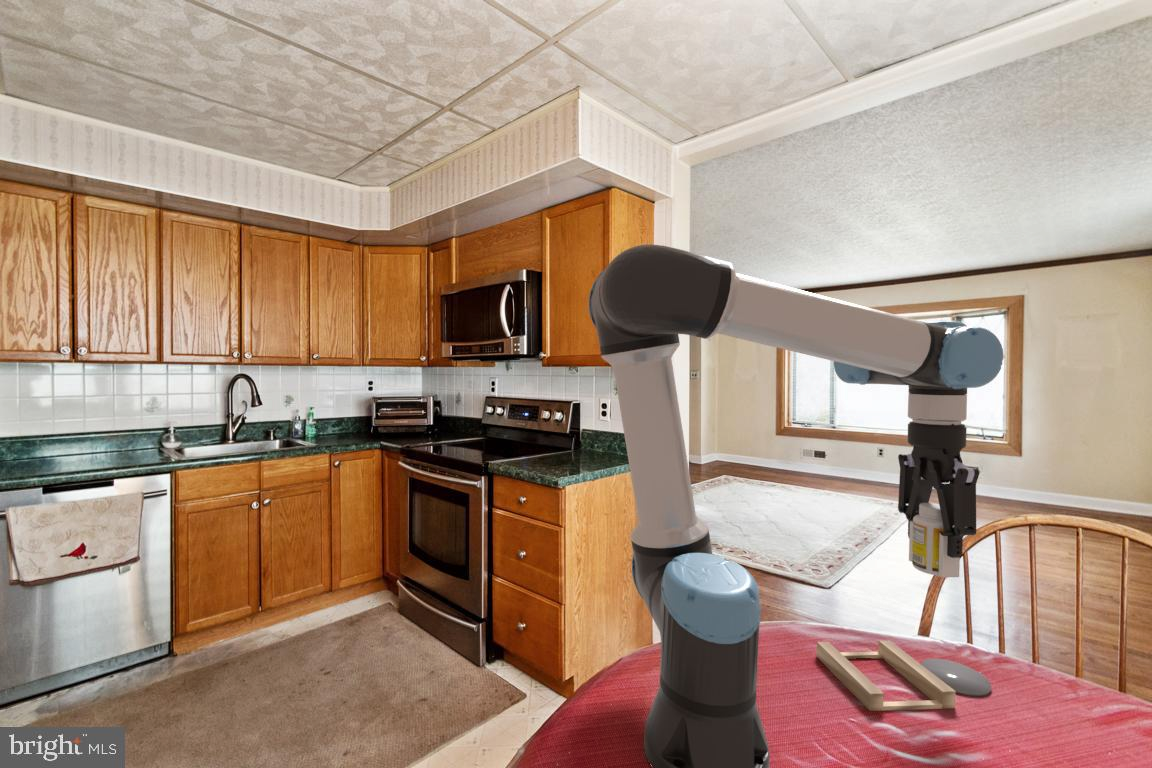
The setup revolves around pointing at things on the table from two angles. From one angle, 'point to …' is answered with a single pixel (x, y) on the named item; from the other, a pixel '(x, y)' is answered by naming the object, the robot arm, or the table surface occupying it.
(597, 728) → the table surface
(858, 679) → the open wooden frame
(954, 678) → the coaster
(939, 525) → the supplement bottle
